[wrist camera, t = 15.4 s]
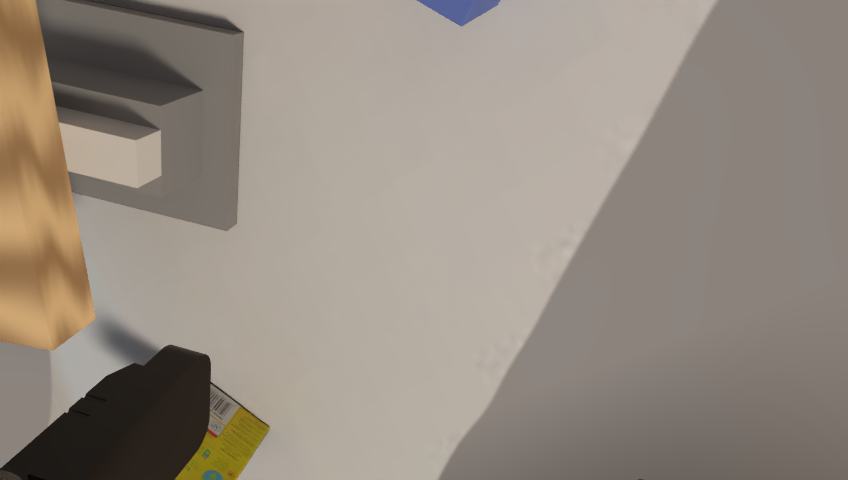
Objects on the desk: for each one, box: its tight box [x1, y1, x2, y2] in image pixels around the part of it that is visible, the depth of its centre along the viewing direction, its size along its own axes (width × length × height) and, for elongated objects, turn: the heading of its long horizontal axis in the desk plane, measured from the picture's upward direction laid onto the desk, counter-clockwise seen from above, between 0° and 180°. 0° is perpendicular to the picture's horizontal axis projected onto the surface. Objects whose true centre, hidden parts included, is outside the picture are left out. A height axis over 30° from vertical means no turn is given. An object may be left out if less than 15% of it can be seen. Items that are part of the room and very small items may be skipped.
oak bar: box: [0, 0, 96, 351], centre depth 39 cm, size 24×4×4 cm, turn 178°
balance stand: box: [36, 0, 244, 231], centre depth 45 cm, size 14×18×9 cm
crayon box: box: [175, 384, 270, 480], centre depth 53 cm, size 7×3×12 cm, turn 53°
